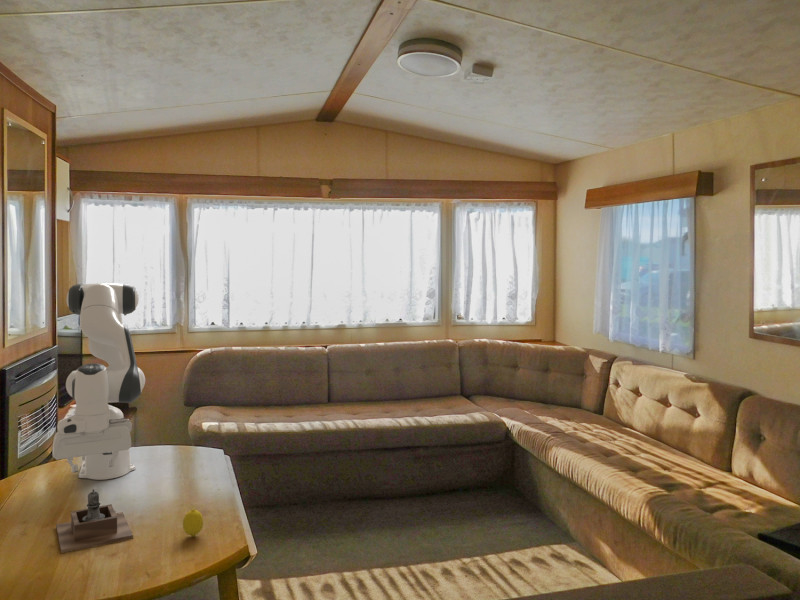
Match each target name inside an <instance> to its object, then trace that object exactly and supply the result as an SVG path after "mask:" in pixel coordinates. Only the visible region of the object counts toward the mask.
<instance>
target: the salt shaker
mask: <svg viewBox="0 0 800 600" xmlns="http://www.w3.org/2000/svg"><path fill="white" fill-rule="evenodd" d="M99 506H101V502H100V494H99V492H97V491H95V489H94V488H93V489H92V490H91V492H89V493H88V495H87V504H86V507H87V508H88V514H87V516H85V517H83V519H82V520H83V521H84V522H87V521H92V520H98V519H103V518H105V515H104V514H101V513H100V511H99Z"/></svg>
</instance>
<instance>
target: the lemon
mask: <svg viewBox="0 0 800 600" xmlns="http://www.w3.org/2000/svg"><path fill="white" fill-rule="evenodd" d="M182 521H183V522H182V527H183V531H184V532H185V534H186V535H189V536H191V537H196V535H198V534H199V533H201V531H202V529H203V526H204V517H203V515H202V512H201V511H199V510H197V509H195V508H193V509H191V510H189V511H188V512H186V514H185V515H184V517H183V520H182Z"/></svg>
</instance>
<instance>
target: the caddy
mask: <svg viewBox="0 0 800 600" xmlns="http://www.w3.org/2000/svg"><path fill="white" fill-rule="evenodd" d="M99 511H100V513H101V514H104V515H105V518H103V519H98V520H92V521H87V522H84V521H83V520H82V519H83V517H85V516H87V514H88V507H87V508H83V509H78V510H77V509H76V510H73V511H70V521H67V522H61V523H56V526H55V528H56V532H57V533H58V534H57V537H58V538H57V539H58V544H59V548H60V549H61V550H60V549H59V550H60V554H63V553H62V552H65V553H69V551H70V552H73V550H75V551H79V550H78V549H80V550H83V549H84V550H85V549H89V548H93V547H98V546H103V545H107V544H113V543H117V542H123V541H127V540H132V539H134V534H133V532H132V530H131V528H130V525H129V523H128V521H127V518H126V517H125V513H124V511H121V512H115V509H114V507H113V505H112V504H105V505H99Z"/></svg>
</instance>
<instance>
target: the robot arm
mask: <svg viewBox="0 0 800 600" xmlns="http://www.w3.org/2000/svg"><path fill="white" fill-rule="evenodd" d="M136 289H137V288H136V287H135V286H134V285H132V284H129V283H113V282H101V283H99V282H97V283H86V284H84V283H78V284H77V283H76V284H73V285H72V286H71V287H70V288H69V290H68V291H67V294H66V298H65V300H66V305H67V307H68V311H70V313H72V314H74V315H77V316H79V324H80V325H79V326H80V330H81V332H82V333H83V335H84V336H85V337H86V338H88V351H89V353H90V354H91V355H92V356H93V357H95V358H97V359H99V360H102V361H104V362H106V363H107V364H108V366H105V365H103V364H101V363H95V362H94V363H86V364H83V365H80V366H79V367H78V368H77V369H76V370H72V371H71V372H70V373H69V374H68V376H67V378H66V381H65V389H66V392H67V394H68V395H69V396H70V397H71V398H72V399H73V400H74V401H75V410H74V415H72V416H70V417H68V418H65V419H62V420H60V421H58V423H57V425H56V429H57V431H56V433H55V434H54V437H53V440H52V441H53V443H52V457H53V459H55V460H57V461H58V460H64V459H65V460H66V461H67V463H68V464H69V467H71V473H72V474H73V473H74V474H75V473H78V478H79V479H90V480H95V481H96V480H98V481H99V480H100V481H101V480H111V479H115V478H119V477H123V476H125V475H127V474H128V473H130V472H132V471H134V470H136V466H135V465H134V464H133V463H131V452H130V451H131V450H130V449H131V447H132V438H131V432H132V428H133V427H132V426H133V424H132V421H131V420H130V419H128V418H125V417H124V413H123V412H122V410H121V409H120V408H118V407H115V406H113V405H111V404H109V403H123V404H124V403H125V404H131V403H133V402H134V401H136V400H137V399H138V398H139V397H141V395H142V391H143V389H144V387H145V384H146V376H145V374H144V371H143V370H142V369H141V368H139V367H138V364H137V359H136V354H135V348H134V344H133V340H132V336H131V331H130V330H129V328H128V327H127V326H125V325H123V318H122V315H124V316H127V315H129V314H132V313H133V312H134V311H136V309H137V306H138V305H139V301H140V300H139V299H140V298H139V294H138V291H137V290H136ZM78 457H80V458H81V460H82V464H81V468H80V471H79V469H78V468H79V466H78V464H77V463H75V464H74V463H73V462H74V458H78Z"/></svg>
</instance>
